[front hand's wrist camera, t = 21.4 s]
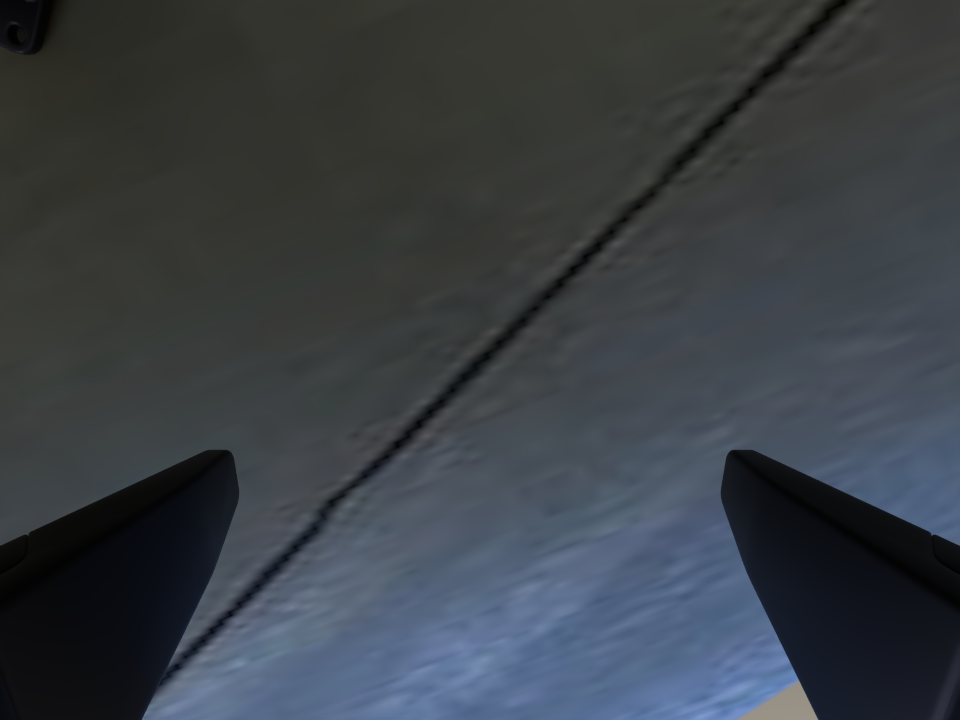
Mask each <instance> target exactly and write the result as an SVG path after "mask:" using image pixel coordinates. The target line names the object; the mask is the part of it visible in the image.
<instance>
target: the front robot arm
mask: <svg viewBox="0 0 960 720" xmlns="http://www.w3.org/2000/svg"><path fill="white" fill-rule="evenodd" d="M51 1H52V0H0V46H2V47H4V48H6V49H8V50H10V51H12V52H16V53H19V54H27V55H30V54H36V53H37V52H38V51H39V50H40V49H41V47H42V45H43V40H44V35H45V30H46V25H47V21H48V16H49V11H50V6H51ZM19 27H21V28H22V29H23V31H24V33H25V40H24V42H23V43H21V42H20V41H19V40H18V38H17V32H16V31H17V30H18V28H19ZM238 499H239V486H238V480H237V474H236V468H235V462H234V457H233V455H232V453H231V452H230V451H229V450H207V451H204V452H202V453H200V454H198V455H195V456H193V457H191V458H189V459H187V460H185V461H182V462H180V463H178V464H176V465H174V466H172V467H170V468H167V469H165V470H163V471H161V472H159V473H157V474H154V475H152V476H150V477H148V478H146V479H144V480H141V481H139V482H137V483H135V484H133V485H131V486H129V487H126V488H124V489H122V490H120V491H118V492H116V493H113V494H111V495H109V496H107V497H105V498H103V499H101V500H98V501H96V502H94V503H92V504H90V505H88V506H85V507H83V508H81V509H79V510H77V511H75V512H72V513H70V514H68V515H66V516H64V517H62V518H60V519H57V520H55V521H53V522H51V523H49V524H47V525H44V526H42V527H40V528H38V529H36V530H34V531H32V532H30V533H29V536H28V535H23V536H20V537H18V538H16V539H14V540H12V541H10V542H8V543H5V544H3V545H1V546H0V720H142V718H143V716H144V714H145V712H146V710H147V708H148V706H149V704H150V702H151V700H152V698H153V695H154V693H155V691H156V689H157V687H158V685H159V683H160V681H161V679H162V677H163V675H164V673H165V671H166V669H167V667H168V665H169V663H170V661H171V659H172V657H173V654H174V652H175V650H176V648H177V646H178V644H179V642H180V640H181V638H182V636H183V634H184V632H185V630H186V628H187V626H188V624H189V622H190V620H191V618H192V616H193V614H194V611H195V609H196V607H197V605H198V603H199V601H200V599H201V597H202V595H203V593H204V591H205V589H206V587H207V585H208V583H209V580H210V578H211V576H212V574H213V572H214V569H215V566H216V564H217V561H218V558H219V555H220V552H221V550H222V547H223V544H224V541H225V538H226V535H227V532H228V529H229V527H230V524H231V521H232V518H233V515H234V512H235V509H236V507H237V504H238ZM721 499H722V504H723V507H724V509H725V512H726V515H727V518H728V521H729V524H730V527H731V529H732V532H733V535H734V538H735V541H736V544H737V547H738V550H739V552H740V555H741V558H742V561H743V564H744V566H745V569H746V572H747V574H748V576H749V578H750V580H751V583H752V585H753V587H754V589H755V591H756V593H757V595H758V597H759V599H760V601H761V603H762V605H763V607H764V609H765V611H766V614H767V616H768V618H769V620H770V622H771V624H772V626H773V628H774V630H775V632H776V634H777V636H778V638H779V640H780V642H781V644H782V646H783V648H784V650H785V652H786V654H787V657H788V659H789V661H790V663H791V665H792V667H793V669H794V671H795V673H796V675H797V677H798V679H799V681H800V683H801V685H802V687H803V689H804V691H805V693H806V695H807V698H808V700H809V702H810V704H811V706H812V708H813V710H814V712H815V714H816V716H817V718H818V720H960V546H959V545H957V544H955V543H952V542H950V541H948V540H946V539H944V538H942V537H940V536H937V535H932V536H931V533H930V532H929V531H926V530H924V529H922V528H920V527H918V526H916V525H913V524H911V523H909V522H907V521H905V520H903V519H900V518H898V517H896V516H894V515H892V514H890V513H888V512H885V511H883V510H881V509H879V508H877V507H875V506H872V505H870V504H868V503H866V502H864V501H862V500H859V499H857V498H855V497H853V496H851V495H849V494H847V493H844V492H842V491H840V490H838V489H836V488H834V487H831V486H829V485H827V484H825V483H823V482H821V481H819V480H816V479H814V478H812V477H810V476H808V475H806V474H803V473H801V472H799V471H797V470H795V469H793V468H790V467H788V466H786V465H784V464H782V463H780V462H778V461H775V460H773V459H771V458H769V457H767V456H765V455H762V454H760V453H758V452H756V451H753V450H731V451H730V452H729V453H728V455H727V457H726V462H725V468H724V474H723V480H722V486H721Z"/></svg>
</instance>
